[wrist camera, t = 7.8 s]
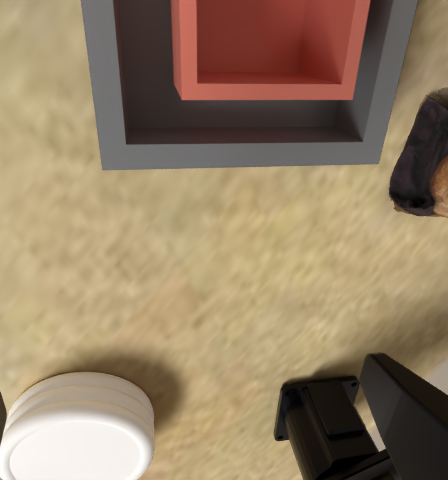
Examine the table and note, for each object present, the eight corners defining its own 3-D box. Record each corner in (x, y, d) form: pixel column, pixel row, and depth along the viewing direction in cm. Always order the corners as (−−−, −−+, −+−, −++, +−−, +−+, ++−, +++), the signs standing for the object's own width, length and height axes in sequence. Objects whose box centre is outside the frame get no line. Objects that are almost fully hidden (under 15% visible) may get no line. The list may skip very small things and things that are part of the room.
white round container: (129, 463, 31) (127, 509, 28) (-3, 452, 28) (-21, 503, 25) (173, 380, 27) (176, 423, 24) (26, 355, 24) (8, 402, 21)
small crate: (302, 83, 17) (352, 99, 13) (172, 82, 16) (181, 100, 12) (321, -83, 15) (393, -131, 10) (166, -96, 14) (174, -155, 9)
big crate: (339, 141, 20) (378, 163, 17) (110, 144, 18) (102, 170, 15) (395, -168, 15) (473, -230, 11) (70, -216, 12) (41, -310, 9)
